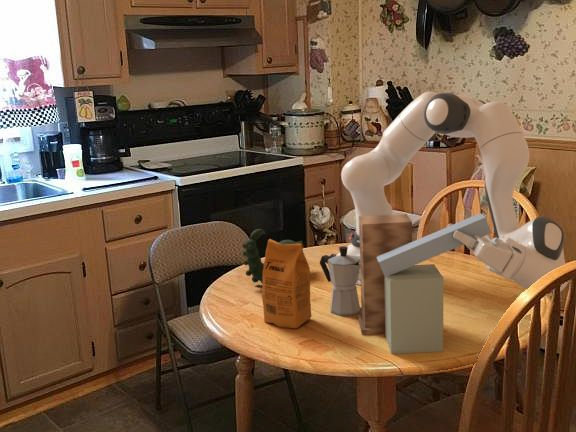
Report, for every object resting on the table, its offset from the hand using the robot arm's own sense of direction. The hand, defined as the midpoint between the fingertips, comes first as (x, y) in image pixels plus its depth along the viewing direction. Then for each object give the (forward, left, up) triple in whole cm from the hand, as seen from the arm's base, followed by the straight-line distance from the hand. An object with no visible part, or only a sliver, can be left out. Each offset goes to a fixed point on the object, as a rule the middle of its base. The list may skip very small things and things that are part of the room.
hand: (451, 229), depth 150 cm
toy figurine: (-62, +23, -28) cm, 72 cm away
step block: (-8, -4, -28) cm, 29 cm away
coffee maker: (-33, +9, -28) cm, 44 cm away
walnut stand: (-18, +4, -28) cm, 33 cm away
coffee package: (-43, -4, -28) cm, 51 cm away
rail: (-3, -2, -5) cm, 6 cm away
